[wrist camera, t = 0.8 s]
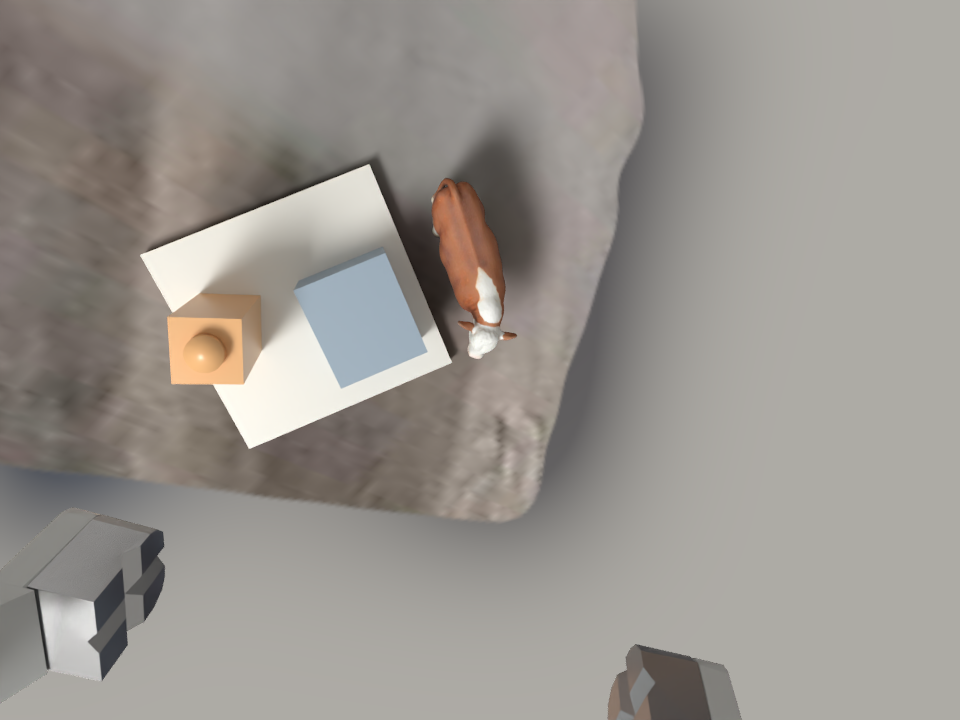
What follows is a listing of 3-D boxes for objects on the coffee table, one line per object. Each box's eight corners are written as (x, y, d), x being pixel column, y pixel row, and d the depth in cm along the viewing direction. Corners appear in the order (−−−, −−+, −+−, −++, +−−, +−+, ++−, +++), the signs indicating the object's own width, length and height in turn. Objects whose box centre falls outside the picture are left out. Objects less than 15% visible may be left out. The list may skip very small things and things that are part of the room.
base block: (298, 280, 48) (293, 290, 44) (382, 246, 49) (385, 252, 45) (342, 371, 51) (341, 388, 47) (421, 337, 51) (427, 352, 47)
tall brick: (202, 349, 48) (168, 387, 40) (199, 293, 47) (163, 319, 38) (261, 350, 49) (241, 388, 40) (260, 295, 48) (239, 321, 39)
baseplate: (144, 253, 47) (140, 255, 46) (369, 164, 48) (369, 164, 47) (251, 443, 52) (249, 448, 51) (450, 359, 54) (451, 362, 53)
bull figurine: (452, 343, 53) (468, 371, 46) (418, 182, 49) (429, 182, 41) (501, 331, 54) (526, 357, 46) (472, 171, 50) (493, 169, 42)
